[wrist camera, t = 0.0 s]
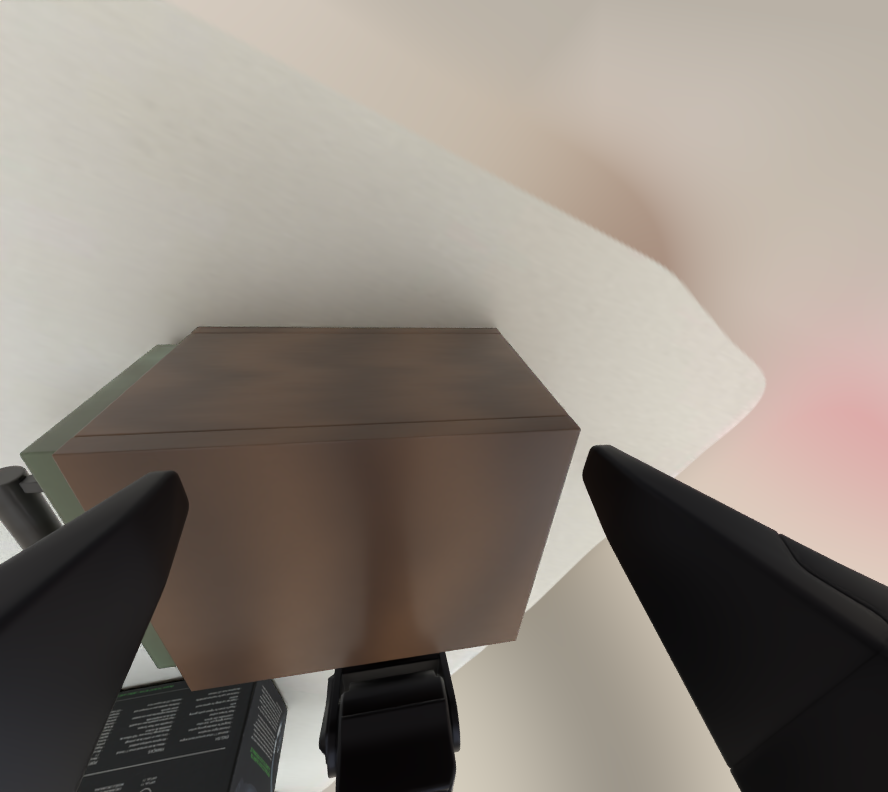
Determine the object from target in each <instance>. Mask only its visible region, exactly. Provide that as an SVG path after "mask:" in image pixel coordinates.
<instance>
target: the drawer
mask: <svg viewBox="0 0 888 792" xmlns="http://www.w3.org/2000/svg"><path fill="white" fill-rule="evenodd" d="M176 346H177V345H156V346H155V347H154V348H152V349H151V350H150V351H149V352H147V353H146V354H145V355H144V356H142V357H141V358H140V359H139V360H137V361H136V362H135V363H133V364H132V365H131V366H130V367H128V368H127V369H126V370H125V371H123V372H122V373H121V374H120V375H118V376H117V377H116V378H115V379H113V380H112V381H111V382H109V383H108V384H107V385H106V386H104V387H103V388H102V389H101V390H99V391H98V392H97V393H96V394H94V395H93V396H92V397H91V398H89V399H88V400H87V401H85V402H84V403H83V404H82V405H80V406H79V407H78V408H77V409H75V410H74V411H73V412H72V413H70V414H69V415H68V416H67V417H65V418H64V419H63V420H61V421H60V422H59V423H58V424H56V425H55V426H54V427H53V428H51V429H50V430H49V431H48V432H46V433H45V434H44V435H43V436H41V437H40V438H39V439H37V440H36V441H35V442H34V443H32V444H31V445H30V446H29V447H27V448H26V449H25V450H24V451H22V452H21V453H20V456H21V458H22V459H23V461H24V462H25V464H26V465H27V467H28V469H29V470H30V472H31V473H32V475H29V474H28V472H27V471H26V469H25V468H23V467H21V466H10V467H5V468H1V469H0V521H1V522H2V523H3V525H4V526H5V527H6V528H7V530H8V531H9V532H10V534H11V535H12V536H13V538H14V539H15V540H16V541H17V543H18V544H19V545H20V547H21V548H22V549H23V550H25V549H26V548H28V547H29V546H31V545H33V544H34V543H36V542H38V541H39V540H41V539H42V538H44V537H46V536H47V535H49V534H51V533H52V532H54V531H55V530H57V529H59V528H60V527H62V524H61V523H60V521H59V520H58V518H57V516H56V515H55V513H54V512H53V510H52V509H51V507H50V506H49V504H48V503H47V501H46V500H45V498H44V497H43V495H42V494H41V492H44V493H45V495H46V496H47V498H48V499H49V501H50V502H51V504H52V506H53V507H54V509H55V510H56V512H57V513H58V515H59V516H60V518H61V519H62V521H63V523H64V524H67V523H68V522H70V521H72V520H73V519H75V518H76V517H78V516H80V515H81V514H83V513H84V512H85V511H84V509H83V508H82V506H81V504H80V503H79V501H78V499H77V498H76V496H75V494H74V493H73V491H72V489H71V487H70V486H69V484H68V482H67V481H66V479H65V477H64V476H63V474H62V472H61V471H60V469H59V467H58V466H57V464H56V462H55V461H54V459H53V457H52V454H53V453H54V452H56V451H57V450H58V449H59V448H60V447H61V446H62V445H64V444H65V443H66V442H67V441H68V440H69V439H70V438H73V437H74V435H76V434H77V433H78V432H79V431H80V430H81V429H82V428H84V427H85V426H86V425H87V424H88V423H89V422H90V421H92V420H93V419H94V418H95V417H96V416H97V415H98V414H100V413H101V412H102V411H103V410H104V409H105V408H106V407H108V406H109V405H110V404H111V403H112V402H113V401H114V400H116V399H117V398H118V397H119V396H120V395H121V394H122V393H124V392H125V391H126V390H127V389H128V388H129V387H130V386H132V385H133V384H134V383H135V382H136V381H137V380H138V379H139V378H141V377H142V376H143V375H144V374H145V373H146V372H147V371H149V370H150V369H151V368H152V367H153V366H154V365H155V364H157V363H158V362H159V361H160V360H161V359H162V358H163V357H165V356H166V355H167V354H168V353H169V352H170V351H171V350H173V349H174V348H175V347H176ZM141 643H142V645H143V646H144V648H145V649H146V651H147V652H148V654H149V655H150V657H151V658H152V660H153V661H154V663H155V665H156V666H157V668H159V669H160V668H167V667H174V666H176V664H175V663H174V661H173V659H172V658H171V656H170V654H169V653H168V651H167V649H166V648H165V646H164V644H163V643H162V641H161V639H160V637H159V636H158V634H157V632H156V631H155V629H154V627H153V626H152V624H151V622H150V623H149V625H148V628H147V630H146V632H145V635H144V637H143V639H142V641H141Z"/></svg>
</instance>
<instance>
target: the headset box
mask: <svg viewBox="0 0 888 792" xmlns="http://www.w3.org/2000/svg"><path fill="white" fill-rule="evenodd" d="M286 716H287V708H286V706H285V704H284V702H283V700H282V698H281V696H280V694H279V693H278V691H277V689H276V687H275V686H274V684H273V683H272V681H271V679H267V680H261V681H255V682H248V683H242V684H235V685H229V686H223V687H216V688H210V689H204V690H197V691H191V690H190V688H189V686H188V685H187V683H186V681H185V680H184V681H179V682H173V683H168V684H162V685H157V686H152V687H146V688H140V689H135V690H129V691H124V692H119V695H118V697H117V699H116V702H115V704H114V706H113V709H112V711H111V713H110V716H109V718H108V720H107V722H106V725H105V727H104V729H103V732H102V734H101V736H100V739H99V741H98V743H97V746H96V748H95V750H94V753H93V755H92V757H91V759H90V762H89V764H88V766H87V769H86V771H85V773H84V776H83V778H82V780H81V783H80V785H79V787H78V790H77V792H274V789H275V783H276V777H277V771H278V764H279V759H280V753H281V747H282V741H283V735H284V729H285V723H286Z"/></svg>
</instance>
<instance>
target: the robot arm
mask: <svg viewBox="0 0 888 792" xmlns="http://www.w3.org/2000/svg"><path fill="white" fill-rule="evenodd" d="M582 476H583V481H584V484H585V486H586V489H587V491H588V494H589V496H590V499H591V501H592V503H593V506H594V508H595V511H596V513H597V516H598V518H599V521H600V523H601V525H602V528H603V530H604V532H605V535H606V537H607V539H608V541H609V543H610V545H611V547H612V549H613V551H614V553H615V554H616V556H617V558H618V560H619V562H620V564H621V566H622V568H623V570H624V571H625V573H626V575H627V577H628V579H629V581H630V583H631V585H632V586H633V588H634V590H635V592H636V594H637V596H638V598H639V600H640V602H641V603H642V605H643V607H644V609H645V611H646V613H647V615H648V616H649V618H650V620H651V622H652V624H653V626H654V628H655V630H656V632H657V634H658V635H659V637H660V639H661V641H662V643H663V645H664V647H665V649H666V651H667V652H668V654H669V656H670V658H671V660H672V662H673V664H674V666H675V667H676V669H677V671H678V673H679V675H680V677H681V679H682V680H683V682H684V684H685V686H686V688H687V690H688V692H689V694H690V696H691V698H692V699H693V701H694V703H695V705H696V707H697V709H698V710H699V713H700V714H701V716H702V718H703V720H704V722H705V724H706V726H707V728H708V729H709V731H710V733H711V735H712V737H713V739H714V741H715V743H716V745H717V746H718V748H719V750H720V752H721V754H722V756H723V758H724V760H725V761H726V763H727V765H728V766H729V768H731V769H730V771H731V773H732V775H733V777H734V779H735V781H736V783H737V785H738V787H739V788H740V790H741V792H888V587H887V586H885V585H883V584H881V583H879V582H877V581H875V580H873V579H871V578H868V577H867V576H864V575H862V574H860V573H858V572H856V571H854V570H852V569H850V568H848V567H846V566H844V565H842V564H839V563H837V562H835V561H833V560H831V559H829V558H828V557H826V556H824V555H821V554H820V553H818V552H816V551H814V550H812V549H810V548H808V547H806V546H804V545H802V544H800V543H798V542H796V541H794V540H792V539H790V538H788V537H786V536H785V535H783V534H778V533H777V532H776V531H775V530H773V529H771V528H769V527H767V526H765V525H763V524H761V523H759V522H757V521H755V520H754V519H751V518H750V517H748V516H746V515H744V514H742V513H740V512H738V511H736V510H734V509H732V508H730V507H728V506H726V505H725V504H723V503H721V502H719V501H717V500H715V499H713V498H711V497H709V496H707V495H705V494H703V493H701V492H700V491H698V490H696V489H694V488H692V487H690V486H688V485H686V484H684V483H682V482H680V481H678V480H676V479H675V478H673V477H671V476H669V475H667V474H665V473H663V472H661V471H659V470H657V469H655V468H653V467H651V466H649V465H648V464H646V463H644V462H642V461H640V460H638V459H636V458H634V457H632V456H630V455H628V454H626V453H624V452H622V451H621V450H619V449H617V448H615V447H613V446H611V445H595V446H593V447H592V448H591V449H590V451H589V454H588V457H587V460H586V463H585V466H584V469H583V474H582ZM188 510H189V501H188V497H187V495H186V492H185V490H184V487H183V484H182V482H181V479H180V477H179V475H178V473H177V472H175V471H172V470H168V471H153V472H150V473H148V474H146V475H144V476H143V477H141V478H139V479H138V480H136V481H135V482H133V483H131V484H130V485H128V486H126V487H125V488H123V489H122V490H120V491H118V492H117V493H115V494H114V495H112V496H110V497H109V498H107V499H105V500H104V501H102V502H101V503H99V504H97V505H96V506H94V507H93V508H91V509H89V510H88V511H86V512H84V513H83V514H81V515H80V516H78V517H76V518H75V519H73V520H72V521H70V522H68V523H67V524H65V525H63V526H62V527H60V528H59V529H57V530H55V531H54V532H52V533H51V534H49V535H47V536H46V537H44V538H42V539H41V540H39V541H38V542H36V543H34V544H33V545H31V546H29V547H28V548H26V549H25V550H23V551H21V552H20V553H18V554H17V555H15V556H13V557H12V558H10V559H8V560H7V561H5V562H4V563H2V564H0V792H77V790H78V787H79V785H80V783H81V780H82V778H83V776H84V773H85V771H86V769H87V766H88V764H89V762H90V759H91V757H92V755H93V753H94V750H95V748H96V746H97V743H98V741H99V739H100V736H101V734H102V732H103V729H104V727H105V725H106V722H107V720H108V718H109V716H110V713H111V711H112V709H113V706H114V704H115V702H116V699H117V697H118V695H119V692H120V690H121V688H122V685H123V683H124V681H125V678H126V676H127V674H128V672H129V669H130V667H131V665H132V662H133V660H134V658H135V655H136V653H137V651H138V648H139V646H140V644H141V641H142V639H143V637H144V635H145V632H146V630H147V628H148V625H149V623H150V621H151V618H152V616H153V614H154V611H155V609H156V607H157V604H158V602H159V600H160V597H161V595H162V592H163V590H164V587H165V585H166V582H167V579H168V576H169V573H170V570H171V567H172V563H173V560H174V557H175V553H176V550H177V547H178V544H179V540H180V537H181V534H182V531H183V527H184V524H185V521H186V518H187V514H188ZM319 749H320V750H321V751H322V753H323V754H324V755H325V759H326V764H327V769H328V777H329V778H333V777H336V792H452V791H453V786H454V780H455V774H456V762H455V754H454V752H458V751H459V750H460V729H459V719H458V711H457V705H456V699H455V695H454V690H453V685H452V681H451V676H450V672H449V667H448V663H447V658H446V653H445V652H439V653H433V654H427V655H420V656H414V657H408V658H401V659H395V660H388V661H382V662H376V663H369V664H363V665H357V666H350V667H344V668H337V669H335V673H334V675H332V676H331V677H330V678H328V689H327V700H326V707H325V712H324V717H323V723H322V728H321V733H320V738H319Z"/></svg>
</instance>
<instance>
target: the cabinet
mask: <svg viewBox="0 0 888 792" xmlns="http://www.w3.org/2000/svg"><path fill="white" fill-rule="evenodd" d="M580 430H581V429H580V427H579V426H578V425H577V424H576V423H575V421H574V420H573V419H572V418H571V417H570V416H569V415H568V414H567V412H566V411H565V410H564V409H563V408H562V406H561V405H560V404H559V403H558V402H557V400H556V399H555V398H554V397H553V396H552V394H551V393H550V392H549V391H548V390H547V388H546V387H545V386H544V385H543V384H542V382H541V381H540V380H539V379H538V378H537V376H536V375H535V374H534V373H533V372H532V370H531V369H530V368H529V367H528V366H527V364H526V363H525V362H524V361H523V360H522V358H521V357H520V356H519V355H518V354H517V352H516V351H515V350H514V349H513V348H512V346H511V345H510V344H509V343H508V342H507V341H506V339H505V338H504V337H503V336H502V335H501V333H500V332H499V331H498V329H497V328H306V327H197V328H196V329H195V330H194V331H193V332H191V334H190V335H189V336H187V337H186V338H185V339H184V340H183V341H182V342H181V343H179V344H178V345H177V346H176V347H175V348H174V349H173V350H171V351H170V352H169V353H168V354H167V355H166V356H165V357H163V358H162V359H161V360H160V361H159V362H158V363H157V364H155V365H154V366H153V367H152V368H151V369H150V370H149V371H147V372H146V373H145V374H144V375H143V376H142V377H141V378H139V379H138V380H137V381H136V382H135V383H134V384H133V385H132V386H130V387H129V388H128V389H127V390H126V391H125V392H124V393H122V394H121V395H120V396H119V397H118V398H117V399H116V400H114V401H113V402H112V403H111V404H110V405H109V406H108V407H106V408H105V409H104V410H103V411H102V412H101V413H100V414H98V415H97V416H96V417H95V418H94V419H93V420H92V421H90V422H89V423H88V424H87V425H86V426H85V427H84V428H82V429H81V430H80V431H79V432H78V433H77V434H76V435H74V437H73V438H70V439H69V440H68V441H67V442H66V443H65V444H64V445H62V446H61V447H60V448H59V449H58V450H57V451H56V452H54V453H53V454H52V457H53V459H54V461H55V462H56V464H57V466H58V467H59V469H60V471H61V472H62V474H63V476H64V477H65V479H66V481H67V482H68V484H69V486H70V487H71V489H72V491H73V493H74V494H75V496H76V498H77V499H78V501H79V503H80V504H81V506H82V508H83V509H84V511H85V512H86V511H88V510H89V509H91V508H93V507H94V506H96V505H97V504H99V503H101V502H102V501H104V500H105V499H107V498H109V497H110V496H112V495H114V494H115V493H117V492H118V491H120V490H122V489H123V488H125V487H126V486H128V485H130V484H131V483H133V482H135V481H136V480H138V479H139V478H141V477H143V476H144V475H146V474H148V473H150V472H153V471H168V470H172V471H175V472H177V473H178V475H179V477H180V479H181V482H182V484H183V487H184V490H185V492H186V495H187V497H188V501H189V510H188V514H187V518H186V521H185V524H184V527H183V531H182V534H181V537H180V540H179V544H178V547H177V550H176V553H175V557H174V560H173V563H172V567H171V570H170V573H169V576H168V579H167V582H166V585H165V587H164V590H163V592H162V595H161V597H160V600H159V602H158V604H157V607H156V609H155V611H154V614H153V616H152V618H151V621H150V622H151V624H152V626H153V627H154V629H155V631H156V632H157V634H158V636H159V637H160V639H161V641H162V643H163V644H164V646H165V648H166V649H167V651H168V653H169V654H170V656H171V658H172V659H173V661H174V663H175V664H176V666H177V668H178V669H179V671H180V673H181V675H182V676H183V678H184V680H185V681H186V683H187V685H188V686H189V688H190V690H191V691H197V690H204V689H210V688H216V687H223V686H229V685H235V684H242V683H248V682H255V681H261V680H267V679H274V678H280V677H286V676H293V675H299V674H306V673H312V672H318V671H325V670H331V669H337V668H344V667H350V666H357V665H363V664H369V663H376V662H382V661H388V660H395V659H401V658H408V657H414V656H420V655H427V654H433V653H439V652H446V651H452V650H459V649H465V648H471V647H478V646H484V645H490V644H496V643H503V642H510V641H515V640H516V638H517V635H518V632H519V629H520V626H521V622H522V619H523V616H524V613H525V609H526V606H527V603H528V600H529V596H530V593H531V590H532V587H533V583H534V580H535V577H536V573H537V570H538V567H539V564H540V560H541V557H542V554H543V551H544V547H545V544H546V541H547V538H548V534H549V531H550V528H551V525H552V521H553V518H554V515H555V512H556V508H557V505H558V502H559V499H560V495H561V492H562V489H563V486H564V482H565V479H566V476H567V473H568V469H569V466H570V463H571V460H572V456H573V453H574V450H575V447H576V443H577V440H578V437H579V433H580Z"/></svg>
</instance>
